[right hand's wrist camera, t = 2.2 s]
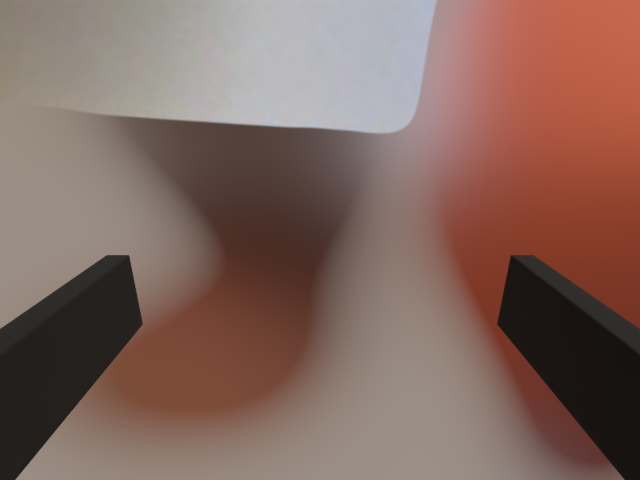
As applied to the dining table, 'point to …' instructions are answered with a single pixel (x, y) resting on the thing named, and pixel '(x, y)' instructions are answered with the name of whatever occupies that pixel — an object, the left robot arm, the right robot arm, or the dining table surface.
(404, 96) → the dining table surface
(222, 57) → the dining table surface
